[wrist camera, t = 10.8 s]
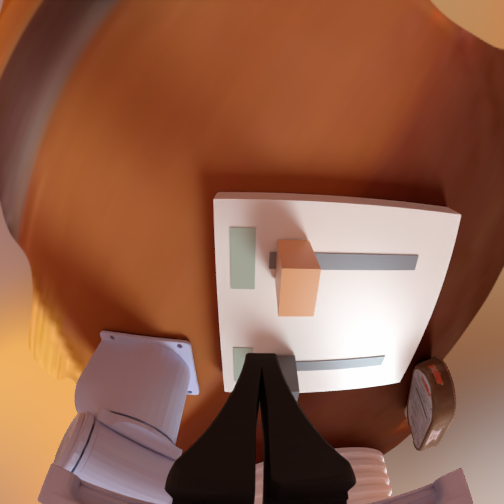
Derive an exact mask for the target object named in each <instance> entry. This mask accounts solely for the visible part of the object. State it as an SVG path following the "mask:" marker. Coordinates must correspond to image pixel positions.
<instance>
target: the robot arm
mask: <svg viewBox="0 0 504 504" xmlns="http://www.w3.org/2000/svg"><path fill="white" fill-rule="evenodd" d="M100 337H101V339H102V341H101V342H100V344H99V345H98V347H97V349H96V350H95V352H94V354H93V355H92V357H91V359H90V360H89V362H88V364H87V365H86V367H85V369H84V371H83V372H82V374H81V376H80V378H79V380H78V382H77V385H76V390H75V406H76V410H77V412H78V414H77V416H76V417H75V418H74V419H73V421H72V422H71V424H70V426H69V428H68V429H67V431H66V433H65V435H64V437H63V439H62V441H61V444H60V446H59V448H58V451H57V453H56V457H55V460H54V463H53V464H51V466H50V468H49V471H48V474H47V476H46V478H45V481H44V484H43V486H42V489H41V492H40V494H39V497H38V501H39V502H41V503H42V504H254V500H255V477H256V426H257V418H258V410H259V401H260V408H261V419H262V429H263V442H264V458H263V500H262V504H347V500H348V491H349V490H350V489H351V488H352V487H353V486H354V485H355V484H356V477H355V474H354V471H353V469H352V467H351V465H350V463H349V461H348V460H346V459H345V458H344V457H343V456H342V455H340V454H339V453H338V452H337V451H336V450H335V449H334V448H333V447H332V446H331V445H330V444H329V443H328V442H327V441H326V440H325V439H324V438H323V437H322V436H321V434H320V433H319V432H318V431H317V430H316V429H315V428H314V426H313V425H312V424H311V422H310V421H309V420H308V418H307V417H306V416H305V414H304V413H303V411H302V410H301V408H300V406H299V405H298V403H297V401H296V400H295V398H294V396H293V394H292V392H291V391H290V388H289V386H288V384H287V382H286V380H285V378H284V375H283V373H282V370H281V368H280V365H279V361H278V357H277V355H276V354H275V353H247V354H246V356H245V361H244V365H243V368H242V370H241V373H240V376H239V378H238V380H237V382H236V385H235V387H234V389H233V391H232V393H231V394H230V396H229V398H228V400H227V402H226V403H225V405H224V407H223V408H222V410H221V411H220V413H219V414H218V416H217V417H216V418H215V420H214V421H213V422H212V424H211V425H210V426H209V428H208V429H207V430H206V431H205V432H204V433H203V435H202V436H201V437H200V438H199V439H198V440H197V441H196V442H195V443H194V444H193V445H192V446H191V447H190V448H189V449H188V450H187V451H186V452H185V453H183V454H182V449H180V448H178V447H176V446H175V444H176V439H177V435H178V430H179V426H180V421H181V417H182V413H183V408H184V404H185V400H186V395H187V394H190V395H198V394H199V386H198V381H197V376H196V370H195V365H194V359H193V354H192V348H191V343H190V342H189V341H187V340H178V339H167V338H157V337H149V336H140V335H132V334H125V333H118V332H111V331H105V330H102V331H101V332H100ZM179 344H181V345H179ZM181 454H182V455H181ZM368 504H473V501H472V497H471V494H470V491H469V488H468V485H467V482H466V479H465V476H464V473H463V470H462V469H461V468H459V469H457V470H455V471H453V472H450V473H448V474H446V475H444V476H442V477H440V478H438V479H437V480H436V481H434V482H433V483H432V484H429V485H426V486H424V487H421V488H419V489H416V490H413V491H410V492H407V493H404V494H401V495H398V496H394V497H391V498H387V499H384V500H380V501H376V502H372V503H368Z"/></svg>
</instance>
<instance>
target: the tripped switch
mask: <svg viewBox="0 0 504 504" xmlns="http://www.w3.org/2000/svg"><path fill="white" fill-rule="evenodd" d="M320 272H321V268H320V266H319V263H318V261H317V258H316V256H315V253H314V251H313V249H312V246H311V244H310V242H309V240H277V256H276V274H275V286H276V297H277V308H278V316H314V311H315V305H316V299H317V293H318V286H319V279H320Z"/></svg>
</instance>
